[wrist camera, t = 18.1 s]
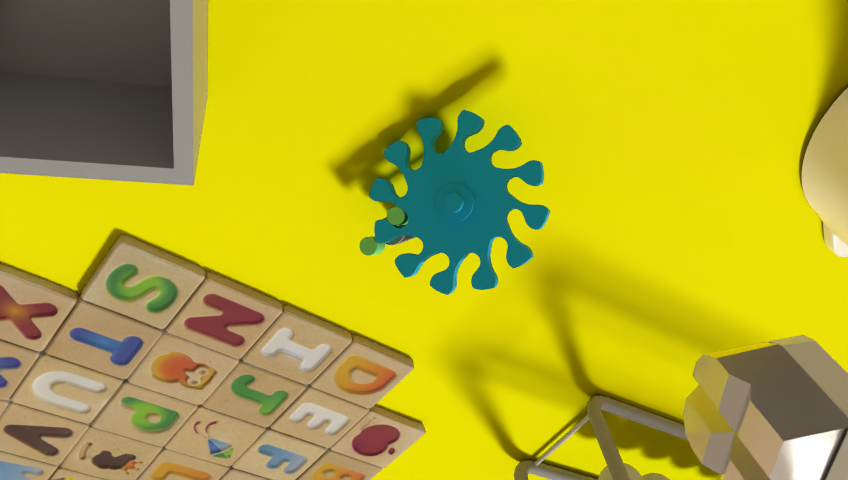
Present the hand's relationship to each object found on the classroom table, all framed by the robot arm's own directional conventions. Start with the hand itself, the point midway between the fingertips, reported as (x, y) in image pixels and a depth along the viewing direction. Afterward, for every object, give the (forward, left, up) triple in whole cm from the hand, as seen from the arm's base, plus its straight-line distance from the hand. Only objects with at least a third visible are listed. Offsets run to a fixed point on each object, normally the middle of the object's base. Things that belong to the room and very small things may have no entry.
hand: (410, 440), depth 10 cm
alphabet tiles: (+6, +38, -30) cm, 49 cm away
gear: (-8, +15, -30) cm, 35 cm away
